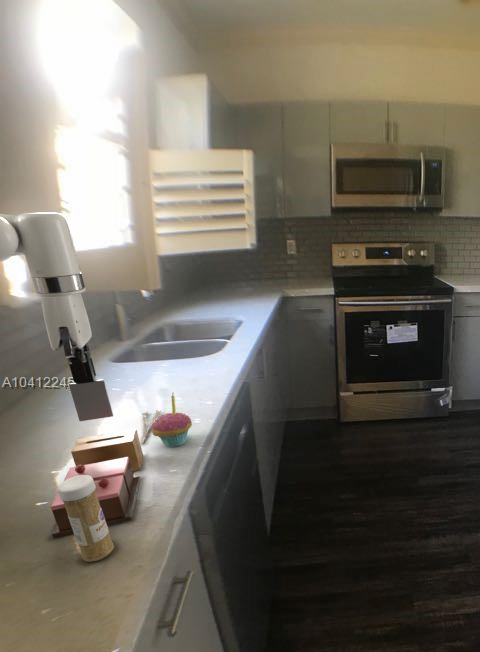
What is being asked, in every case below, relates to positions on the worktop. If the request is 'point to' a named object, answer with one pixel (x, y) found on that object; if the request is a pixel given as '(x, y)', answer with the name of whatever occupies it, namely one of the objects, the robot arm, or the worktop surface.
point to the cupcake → (172, 427)
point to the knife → (91, 398)
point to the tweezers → (149, 424)
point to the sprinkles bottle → (86, 517)
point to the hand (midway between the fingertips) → (85, 379)
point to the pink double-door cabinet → (103, 493)
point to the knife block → (109, 448)
